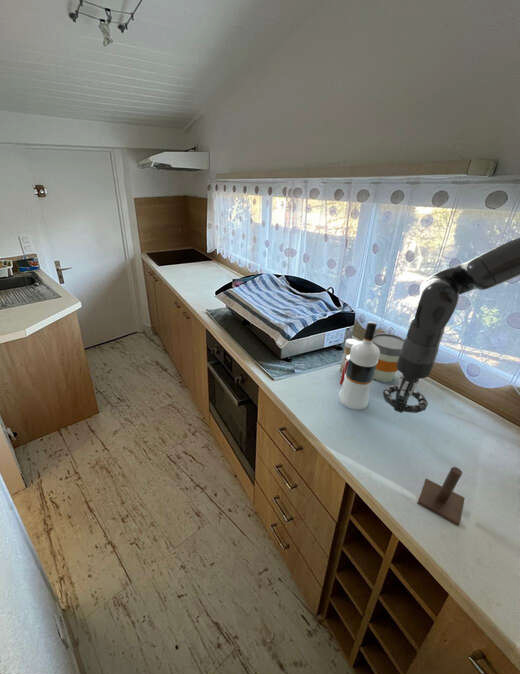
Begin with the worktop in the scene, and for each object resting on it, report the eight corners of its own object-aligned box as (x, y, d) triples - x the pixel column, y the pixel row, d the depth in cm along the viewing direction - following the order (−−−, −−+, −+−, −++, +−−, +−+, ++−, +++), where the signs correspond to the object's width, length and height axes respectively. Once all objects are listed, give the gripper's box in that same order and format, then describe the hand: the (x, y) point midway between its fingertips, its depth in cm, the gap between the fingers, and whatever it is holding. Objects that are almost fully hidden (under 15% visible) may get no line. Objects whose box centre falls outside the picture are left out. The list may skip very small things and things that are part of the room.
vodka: (339, 409, 101) (358, 328, 86) (336, 392, 109) (352, 315, 94) (369, 413, 99) (393, 331, 85) (364, 395, 107) (385, 317, 93)
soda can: (346, 391, 109) (353, 363, 103) (336, 383, 113) (342, 355, 107) (357, 387, 111) (364, 359, 105) (347, 379, 115) (353, 352, 109)
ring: (429, 399, 88) (432, 394, 87) (421, 420, 81) (423, 414, 80) (388, 384, 95) (390, 379, 94) (377, 402, 87) (378, 396, 86)
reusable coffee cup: (376, 386, 111) (386, 351, 104) (355, 367, 122) (363, 334, 115) (406, 382, 113) (417, 347, 106) (383, 364, 124) (392, 331, 117)
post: (463, 500, 72) (481, 469, 67) (458, 526, 67) (477, 494, 62) (424, 480, 77) (438, 450, 72) (417, 503, 72) (432, 472, 67)
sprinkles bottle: (344, 366, 123) (351, 337, 117) (354, 371, 120) (361, 342, 113) (337, 370, 121) (343, 340, 115) (346, 375, 117) (353, 345, 111)
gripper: (428, 372, 70) (408, 428, 78) (440, 349, 79) (420, 401, 87) (393, 361, 74) (377, 415, 82) (408, 340, 83) (392, 391, 91)
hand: (399, 408), depth 85 cm, fingers closed on ring, 2 cm apart
